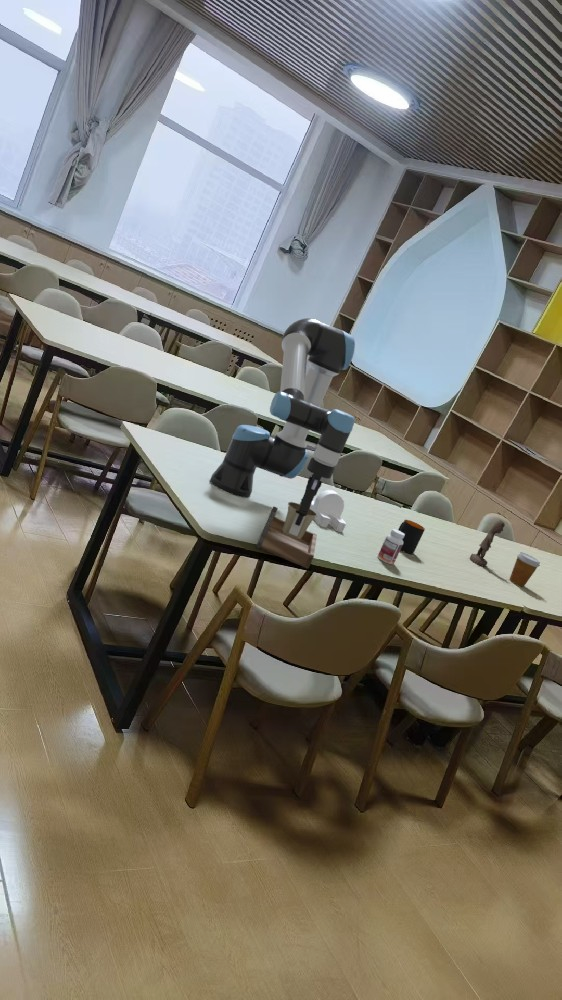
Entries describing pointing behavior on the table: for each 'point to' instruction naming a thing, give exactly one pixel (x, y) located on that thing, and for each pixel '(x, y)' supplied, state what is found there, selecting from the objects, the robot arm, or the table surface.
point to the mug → (410, 535)
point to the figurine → (487, 544)
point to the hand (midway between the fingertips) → (294, 530)
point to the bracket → (329, 510)
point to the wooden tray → (286, 542)
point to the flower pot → (291, 516)
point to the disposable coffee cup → (523, 569)
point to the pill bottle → (391, 547)
